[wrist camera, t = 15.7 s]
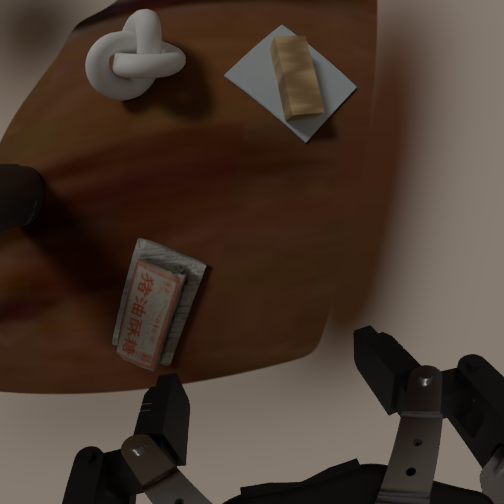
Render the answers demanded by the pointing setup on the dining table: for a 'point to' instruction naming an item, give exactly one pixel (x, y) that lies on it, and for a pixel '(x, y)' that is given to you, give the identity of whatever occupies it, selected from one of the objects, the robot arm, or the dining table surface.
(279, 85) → the oak block
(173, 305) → the packaged product
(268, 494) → the robot arm
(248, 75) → the felt mat
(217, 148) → the dining table surface
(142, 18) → the white decorative knot
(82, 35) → the dining table surface
